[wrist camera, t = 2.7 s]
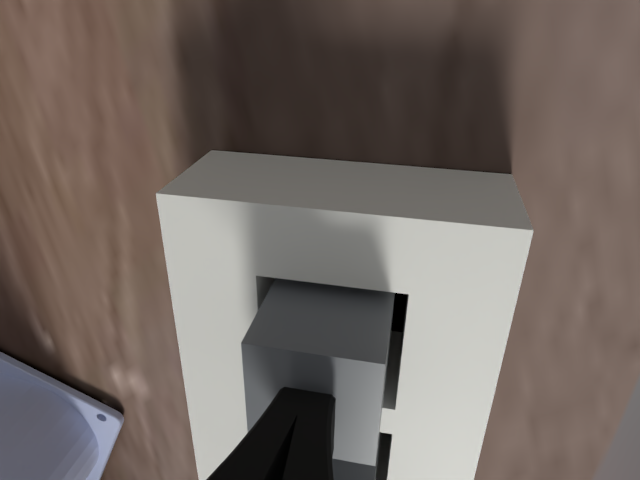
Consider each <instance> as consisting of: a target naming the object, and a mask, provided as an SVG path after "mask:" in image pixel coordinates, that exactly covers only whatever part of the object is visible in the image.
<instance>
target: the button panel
mask: <svg viewBox="0 0 640 480" xmlns="http://www.w3.org/2000/svg"><path fill="white" fill-rule="evenodd" d="M156 198H157V205H158V211H159V218H160V225H161V231H162V238H163V245H164V251H165V258H166V265H167V271H168V278H169V285H170V291H171V298H172V305H173V311H174V318H175V325H176V331H177V338H178V345H179V351H180V358H181V365H182V371H183V378H184V385H185V391H186V398H187V405H188V411H189V418H190V425H191V431H192V438H193V445H194V451H195V458H196V465H197V471H198V478H199V480H206V479H207V478H208V477H209V476H210V475H211V474H212V473H213V472H214V471H215V470H216V468H217V467H218V466H219V465H220V464H221V463H222V462H223V461H224V460H225V459H226V458H227V457H228V456H229V454H230V453H231V452H232V451H233V450H234V449H235V447H236V446H237V445H238V444H239V443H240V442H241V440H242V439H243V438H244V437H245V436H246V434H247V433H248V430H247V417H246V403H245V390H244V377H243V364H242V350H241V342H242V340H243V338H244V336H245V335H246V333H247V331H248V329H249V327H250V325H251V323H252V321H253V319H254V318H255V316H256V314H257V312H258V310H259V308H260V306H261V304H262V302H263V301H264V299H265V297H266V295H267V293H268V291H269V289H270V287H271V285H272V284H273V282H274V280H275V278H280V279H288V280H296V281H304V282H313V283H321V284H329V285H337V286H345V287H353V288H361V289H369V290H377V291H385V292H393V293H402V294H407V297H406V306H405V314H404V323H403V332H398V331H391V338H390V347H389V357H388V367H387V375H386V383H385V391H384V400H383V408H382V416H381V424H380V432H381V435H380V445H379V455H378V465H377V474H376V480H474V476H475V472H476V468H477V464H478V460H479V455H480V451H481V447H482V443H483V439H484V435H485V430H486V426H487V422H488V418H489V414H490V410H491V406H492V401H493V397H494V393H495V389H496V385H497V381H498V376H499V372H500V368H501V364H502V360H503V356H504V351H505V347H506V343H507V339H508V335H509V331H510V327H511V322H512V318H513V314H514V310H515V306H516V302H517V297H518V293H519V289H520V285H521V281H522V277H523V273H524V268H525V264H526V260H527V256H528V252H529V248H530V243H531V239H532V235H533V231H534V230H533V227H532V225H531V222H530V220H529V217H528V215H527V212H526V209H525V207H524V204H523V202H522V199H521V196H520V194H519V191H518V189H517V186H516V183H515V181H514V178H513V176H512V174H502V173H490V172H477V171H465V170H453V169H440V168H428V167H415V166H403V165H390V164H378V163H366V162H353V161H341V160H328V159H316V158H304V157H291V156H279V155H266V154H254V153H241V152H229V151H217V150H211V151H210V152H208V153H207V154H206V155H204V156H203V157H202V158H201V159H199V160H198V161H197V162H195V163H194V164H193V165H192V166H190V167H189V168H188V169H186V170H185V171H184V172H183V173H181V174H180V175H179V176H178V177H176V178H175V179H174V180H172V181H171V182H170V183H169V184H167V185H166V186H165V187H163V188H162V189H161V190H160V191H158V192H157V193H156Z"/></svg>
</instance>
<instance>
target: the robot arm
mask: <svg viewBox="0 0 640 480" xmlns="http://www.w3.org/2000/svg"><path fill="white" fill-rule="evenodd" d="M335 404H336V398H335V397H334V396H333V395H332V394H326V393H320V392H314V391H307V390H301V389H295V388H289V387H283V388H281V389H280V390H279V392H278V393H277V395H276V396H275V398H274V399H273V400H272V402H271V403H270V405H269V406H268V407H267V409H266V410H265V412H264V413H263V414H262V416H261V417H260V418H259V419H258V421H257V422H256V423H255V425H254V426H253V427H252V428H251V430H250V431H249V432H248V433H247V434H246V436H245V437H244V438H243V439H242V440H241V442H240V443H239V444H238V445H237V446H236V447H235V449H234V450H233V451H232V452H231V453H230V454H229V456H228V457H227V458H226V459H225V460H224V461H223V462H222V463H221V464H220V465H219V466H218V467H217V468H216V470H215V471H214V472H213V473H212V474H211V475H210V476H209V477H208V478H207V479H206V480H334V478H333V465H332V457H333V450H334V429H335ZM123 422H124V418H123V415H122V414H121V413H120V412H118V411H117V410H115V409H113V408H111V407H109V406H107V405H105V404H103V403H101V402H99V401H97V400H95V399H93V398H91V397H89V396H87V395H85V394H83V393H81V392H79V391H77V390H75V389H73V388H71V387H69V386H67V385H65V384H63V383H61V382H59V381H57V380H55V379H54V378H52V377H50V376H48V375H46V374H44V373H42V372H40V371H38V370H36V369H34V368H32V367H30V366H28V365H26V364H24V363H22V362H20V361H18V360H16V359H14V358H12V357H10V356H8V355H6V354H4V353H2V352H0V480H100V479H101V476H102V474H103V471H104V469H105V466H106V464H107V461H108V459H109V456H110V454H111V452H112V449H113V447H114V444H115V442H116V439H117V437H118V434H119V432H120V429H121V427H122V424H123Z"/></svg>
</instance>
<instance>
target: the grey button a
mask: <svg viewBox="0 0 640 480" xmlns="http://www.w3.org/2000/svg"><path fill="white" fill-rule="evenodd" d="M394 298H395V293H393V292H385V291H377V290H369V289H361V288H353V287H345V286H337V285H329V284H321V283H313V282H304V281H296V280H288V279H280V278H275V280H274V282H273V284H272V285H271V287H270V289H269V291H268V293H267V295H266V297H265V299H264V301H263V302H262V304H261V306H260V308H259V310H258V312H257V314H256V316H255V318H254V319H253V321H252V323H251V325H250V327H249V329H248V331H247V333H246V335H245V336H244V338H243V340H242V342H241V350H242V364H243V377H244V390H245V403H246V417H247V430H248V432H249V431H250V430H251V428H252V427H253V426H254V425H255V423H256V422H257V421H258V419H259V418H260V417H261V416H262V414H263V413H264V412H265V410H266V409H267V407H268V406H269V405H270V403H271V402H272V400H273V399H274V398H275V396H276V395H277V393H278V392H279V390H280V389H281V388H283V387H289V388H295V389H301V390H307V391H314V392H320V393H326V394H332V395H333V396H334V397H335V398H336V404H335V429H334V450H333V457H332V458H333V459H338V460H344V461H349V462H355V463H360V464H366V465H371V466H375V465H376V457H377V449H378V440H379V432H380V424H381V416H382V408H383V400H384V391H385V383H386V375H387V367H388V357H389V347H390V338H391V328H392V318H393V308H394Z"/></svg>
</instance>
